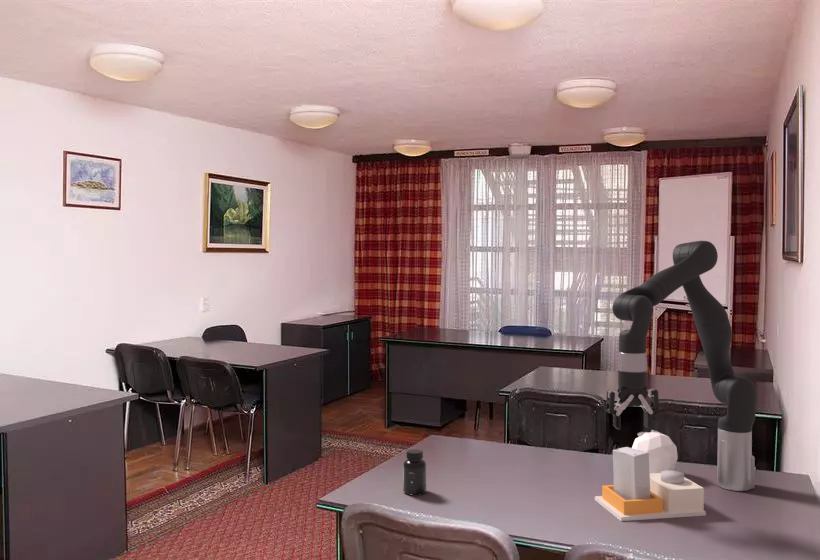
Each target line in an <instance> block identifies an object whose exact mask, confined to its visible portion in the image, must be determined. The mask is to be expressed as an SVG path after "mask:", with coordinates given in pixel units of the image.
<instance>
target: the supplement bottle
mask: <svg viewBox="0 0 820 560" xmlns="http://www.w3.org/2000/svg"><path fill="white" fill-rule="evenodd" d="M405 456H406V457H405V458H406V459H405V460H404V461H403V463H402V491H404V492H405V493H407V494H413V495H417V496H420V495H419V494H422V495H424V494H425V493H427V462H426V461H425V460H424V450H422V449H417V448H413V449H408V450H406V455H405ZM404 492H403V493H404ZM405 493H404V494H405ZM407 494H406V495H407Z"/></svg>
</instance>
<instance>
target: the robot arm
mask: <svg viewBox="0 0 820 560" xmlns="http://www.w3.org/2000/svg"><path fill="white" fill-rule="evenodd" d="M718 255H719V254H718V251H717V248H716V246H715V244H713V243H712V242H711V241H707V240H696V241H689V242H683V243H680V244H677V245H675V247H674V248H673V250H672V261H673V262H672V263H673V265H671V266H669V267H667V268H664V269H663V270H661V271H660V270H659V271H658V272H657V273H655V274H653V275H651V276H649V278H647V280H645V281H644V282H643V283H642V284H640V285H638V286H636V287H632V288H631V289H630V288H629V289H628V290H626V291H624V292H623V293H621V294H619V295H618V296H617V297H616V298H615V299H614V301H613V303H612V313H613V315H614V316H615V317H616V319H618V320H621V321H625V322H626V321H627V322H632V324H631V326H630V328H629V329H623V330H622V331H620V332H619V335H618V357H617V358H618V359H617V385H618V389H617V391H616V390H615V391H614V390H613V391H612V390H610V389H608V390H607V391H606V398H605V399H606V402H605V412H606V413H609V414H611V415H612V426H613V427H614V428H615V429H616V430H618V431H619V430H621V429H622V419H621V418H622V417H621V414H622V413H623V411H624V410H626V408H627V407H629V408H631V407H641V408H642V410H643V411H644V412H643V427H645V428H646V429H650V428H651V426H652V425H653V420H652V419H653V413H656V412H659V411H660V403H659V401H660V400H659V391H658V389H655V388H652V387H651V388H649V389H647V388H648V387H647V386H648V358H647V336H648V332H649V329H650V325H651V322H652V318H653V313H654V307H656V306H657V305H659V304H661V302H663V301H664V300H665V299H666V298H668V297H669V296H670V295H671V294H673V293H674V292H675V291H677V290H678V289H679V288H681V287H682V289H683V291H684V292H685V295H686V298H687V301H688V304H689V307H690V310H691V313H692V317H693V320H694V324H695V329H696V331H697V334H698V337H699V339H700V342H701V343H700V344H701V346H702V349H703V353H704V357H705V359H706V364H707V368H708V373H709V380H710V383H711V385H710V386H711V389H712V392H713V394H714V397H715V398H716V400H717V401H718V402H719V403H722V404H724V405H727V408H726V409H727V410H726V415H724V416H720V417H719V418H718V421H717V461H716V462H717V466H716V467H717V468H716V470H717V471H716V484H717V486H718V487H720V488H722V489H725V490H729V491H735V492H736V491H737V492H744V491H745V492H747V491H749V490H752V489H755V467H756V466H755V460H756V458H755V456H754V455H753V454H752V453H753V452H752V447H753V444H752V443H753V439H752V435H753V434H752V433H753V425H754V423H755V421H756V413H757V397H758V394H757V388H756V385H755V383H754V382H753V381H752V380H751V379H749V378H747V377H744V376H740V375H736V373H735V371H734V368H733V365H732V362H731V359H730V358H731V357H730V349H731V346H732V339H733V329H732V326H731V323H730V318H729V316H728V312H727V311H726V309H725V307H724V306H723V305H722V304H721V302H720V301H719V300H718V299H717V298H715V296H714V295H713V294H712V293H711V292H710V291H709V290H708V288H706V286H705V285H704V284H703V282H702V279H701V276H702V275H703V274H705V273H708V272H709V271H711V270H712V269H714V267H716V264H717V262H718ZM617 397H618V398H619V399H618V400H617V402H616V403H615V401H616V399H617ZM647 397H649V403H648V402H647V400H646V398H647Z"/></svg>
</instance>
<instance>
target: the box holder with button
mask: <svg viewBox="0 0 820 560" xmlns="http://www.w3.org/2000/svg"><path fill="white" fill-rule="evenodd" d="M650 496H651V499H636V500H625V499H623V498H622V497H621V496H619V495H618V494H617V493H615V492H614V484H608V485H607V484H606V485H602V486H601V495H597V496H596V495H595V496H594V501H595V502H596V503H598V504H599V505H601V506H602V507H603V508H604V509H605V510H607V511H608V512H609V513H610V514H612V515H613V516H614V517H615V518H617V519H618V520H619V522H628V521H629V522H631V521H645V520H657V519H660V520H661V519H674V518H687V517H701V516H703V517H704V516H707V512H706V510H705V509H704V507H705V506H704V505H705V489H704V487H702V486H701V485H699V484H697V483H695V482H694V481H692V480H691V479H688V478H687V477H685V474H684V473H683V472H682V471H678V470H665V471H662V472H661V473H650Z"/></svg>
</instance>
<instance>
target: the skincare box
mask: <svg viewBox="0 0 820 560" xmlns="http://www.w3.org/2000/svg"><path fill="white" fill-rule="evenodd" d="M612 466H613V467H612V468H613V470H612V471H613V485H614V492H615V493H617V494H618V495H619V496H621V497H622V498H623V499H625V500H636V499H651V496H650V471H649V453H648V452H644V451H640V450H636V449H633V448H632V447H629V446H625V447H619V448H615V449H613V450H612Z"/></svg>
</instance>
